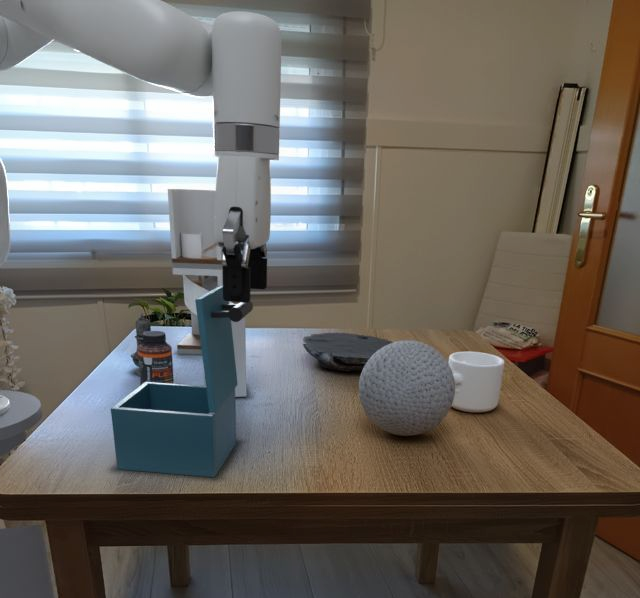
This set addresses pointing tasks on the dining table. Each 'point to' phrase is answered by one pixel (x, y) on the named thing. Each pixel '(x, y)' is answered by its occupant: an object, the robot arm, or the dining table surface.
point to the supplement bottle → (155, 358)
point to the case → (173, 430)
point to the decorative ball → (406, 388)
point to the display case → (194, 252)
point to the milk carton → (239, 355)
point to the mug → (476, 380)
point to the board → (343, 349)
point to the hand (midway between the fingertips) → (246, 294)
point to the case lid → (218, 343)
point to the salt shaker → (140, 338)
